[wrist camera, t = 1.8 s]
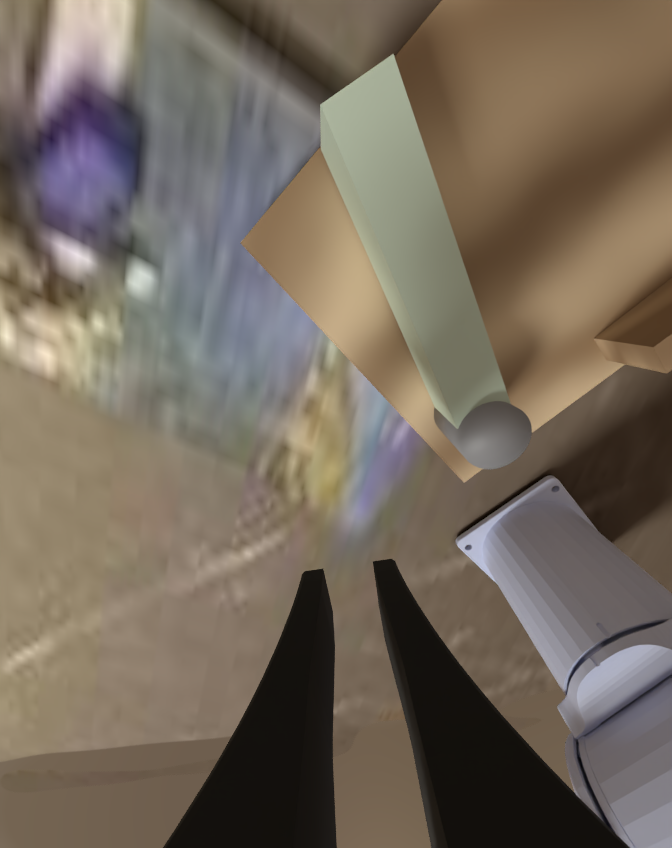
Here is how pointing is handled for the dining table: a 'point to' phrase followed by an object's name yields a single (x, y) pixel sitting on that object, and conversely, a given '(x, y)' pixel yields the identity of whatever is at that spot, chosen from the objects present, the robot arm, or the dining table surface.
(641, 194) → the stool seat
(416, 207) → the leg
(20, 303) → the dining table surface
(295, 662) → the robot arm
